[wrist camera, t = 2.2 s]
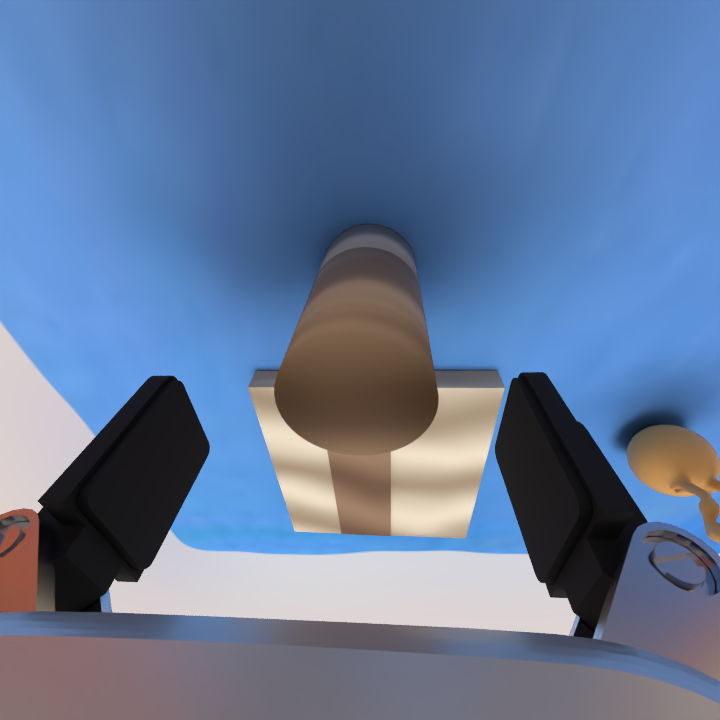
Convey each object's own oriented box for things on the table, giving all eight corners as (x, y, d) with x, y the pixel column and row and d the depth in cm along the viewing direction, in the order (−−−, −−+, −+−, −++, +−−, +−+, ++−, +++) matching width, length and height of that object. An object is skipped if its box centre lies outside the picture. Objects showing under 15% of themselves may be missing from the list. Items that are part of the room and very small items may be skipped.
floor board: (256, 370, 21) (246, 390, 19) (497, 370, 19) (506, 392, 18) (298, 514, 30) (294, 535, 29) (462, 520, 29) (466, 542, 27)
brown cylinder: (317, 225, 15) (257, 335, 8) (418, 221, 15) (446, 333, 8) (328, 313, 18) (289, 454, 11) (414, 311, 18) (432, 457, 10)
